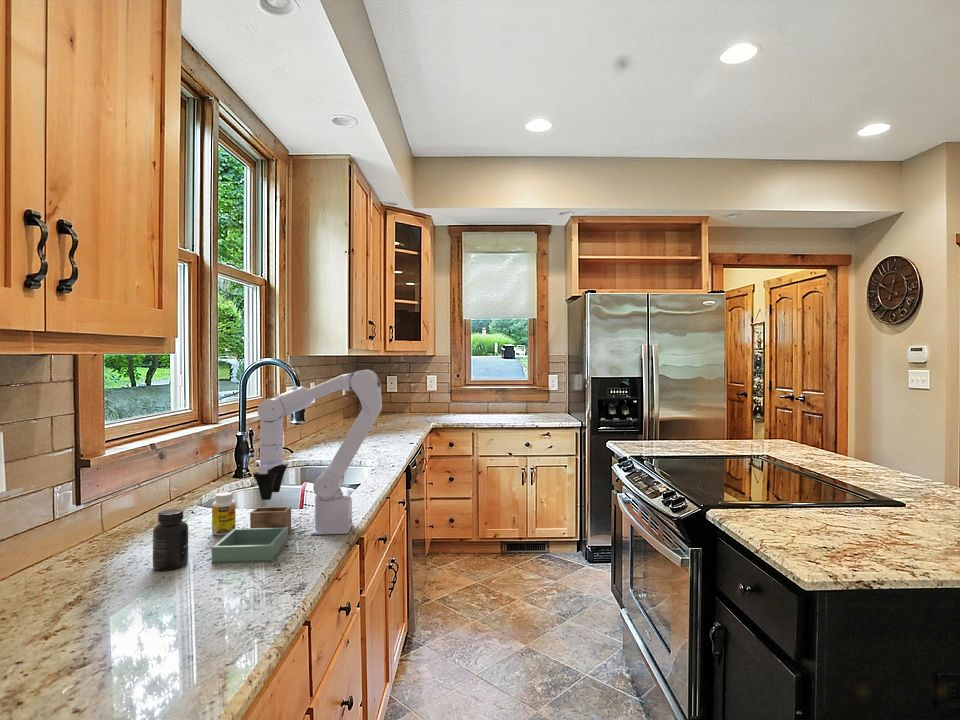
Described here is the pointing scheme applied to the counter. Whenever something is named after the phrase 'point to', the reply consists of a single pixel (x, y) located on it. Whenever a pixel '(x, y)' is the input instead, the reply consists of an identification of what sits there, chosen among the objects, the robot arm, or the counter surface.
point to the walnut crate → (271, 517)
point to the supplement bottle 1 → (170, 541)
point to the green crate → (250, 545)
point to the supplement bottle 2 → (223, 514)
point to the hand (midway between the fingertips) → (270, 495)
